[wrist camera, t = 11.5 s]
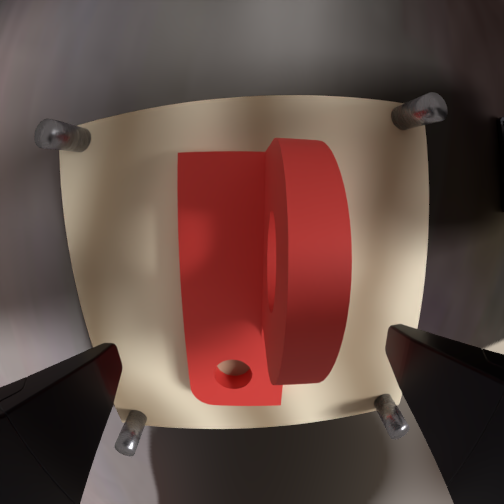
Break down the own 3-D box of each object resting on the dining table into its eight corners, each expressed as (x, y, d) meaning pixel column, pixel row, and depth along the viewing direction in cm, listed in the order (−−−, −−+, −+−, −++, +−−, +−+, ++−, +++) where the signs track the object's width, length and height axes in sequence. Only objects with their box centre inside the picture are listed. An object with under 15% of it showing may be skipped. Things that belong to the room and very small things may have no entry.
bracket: (183, 155, 12) (92, 120, 4) (290, 155, 12) (360, 116, 4) (195, 390, 15) (170, 513, 7) (278, 391, 15) (297, 516, 7)
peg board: (408, 111, 13) (458, 94, 8) (390, 391, 17) (416, 434, 12) (74, 134, 13) (22, 123, 8) (128, 408, 17) (108, 454, 12)
